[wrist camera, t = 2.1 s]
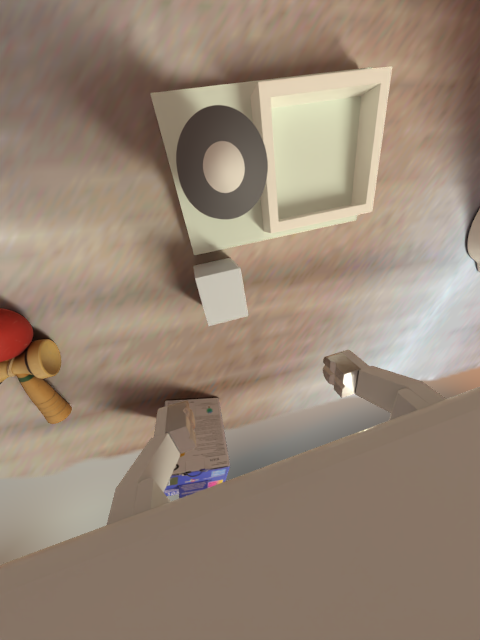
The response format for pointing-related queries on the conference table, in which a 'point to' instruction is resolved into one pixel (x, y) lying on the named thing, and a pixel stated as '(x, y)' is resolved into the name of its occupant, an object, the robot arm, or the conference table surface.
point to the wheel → (221, 162)
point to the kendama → (31, 364)
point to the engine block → (221, 290)
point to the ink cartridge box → (201, 451)
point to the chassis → (291, 151)
